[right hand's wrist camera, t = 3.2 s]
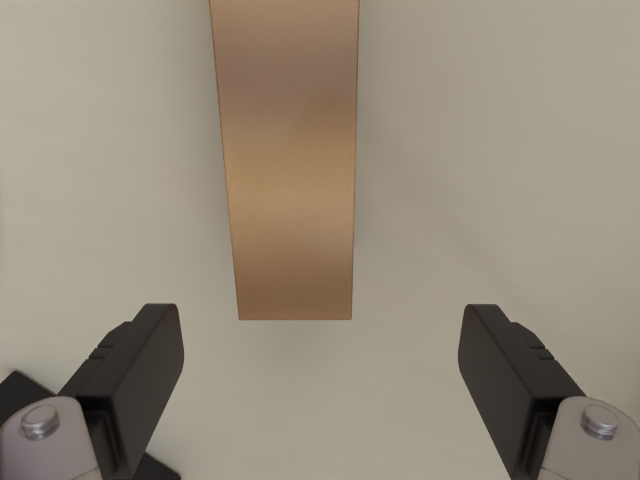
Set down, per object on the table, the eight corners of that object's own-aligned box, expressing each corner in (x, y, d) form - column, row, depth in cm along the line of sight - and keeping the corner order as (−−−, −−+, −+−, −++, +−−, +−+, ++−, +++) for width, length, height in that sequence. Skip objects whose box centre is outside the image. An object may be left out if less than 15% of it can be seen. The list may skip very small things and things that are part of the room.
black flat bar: (7, 378, 34) (-43, 425, 30) (15, 369, 34) (-34, 415, 29) (173, 484, 39) (152, 539, 34) (181, 476, 39) (162, 531, 34)
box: (343, 251, 30) (351, 320, 22) (262, 251, 30) (238, 320, 22) (349, -180, 21) (368, -356, 13) (235, -178, 21) (175, -352, 13)
